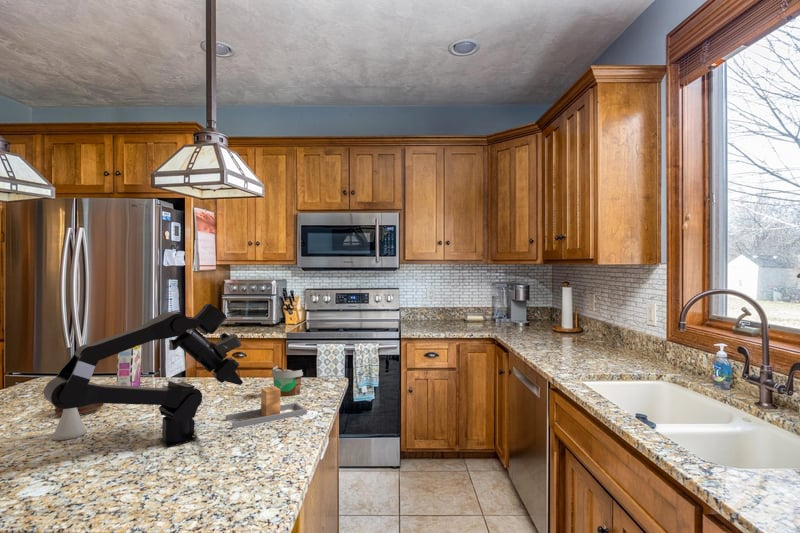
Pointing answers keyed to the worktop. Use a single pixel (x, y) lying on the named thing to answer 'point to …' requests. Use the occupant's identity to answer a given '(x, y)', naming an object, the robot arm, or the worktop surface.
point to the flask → (69, 425)
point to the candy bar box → (129, 367)
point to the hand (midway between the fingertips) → (241, 383)
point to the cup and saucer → (83, 409)
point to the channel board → (298, 412)
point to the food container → (287, 381)
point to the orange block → (270, 401)
